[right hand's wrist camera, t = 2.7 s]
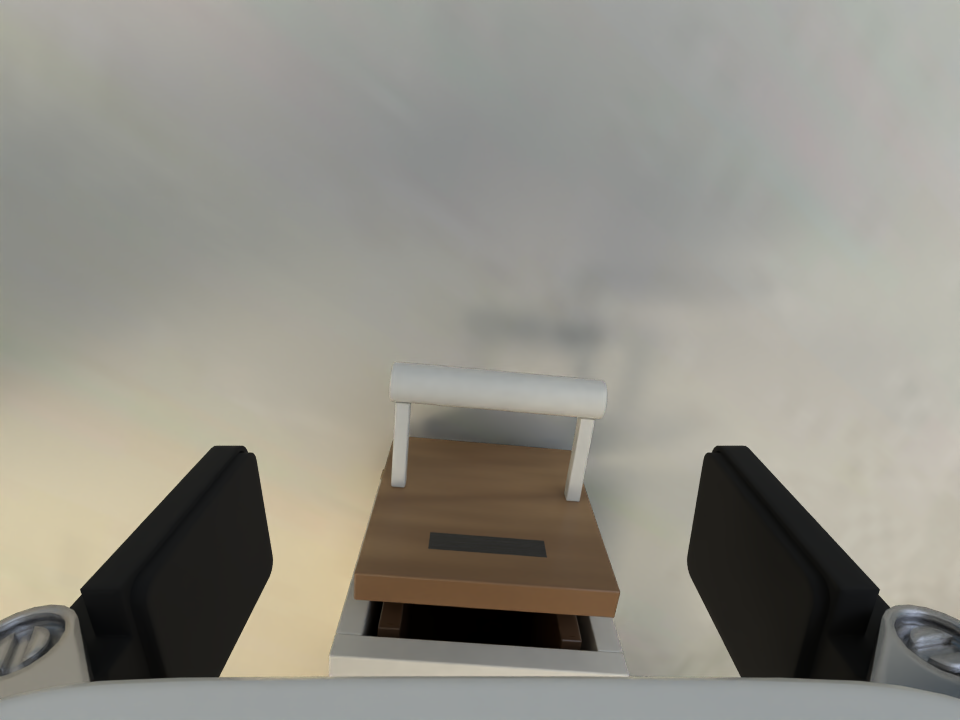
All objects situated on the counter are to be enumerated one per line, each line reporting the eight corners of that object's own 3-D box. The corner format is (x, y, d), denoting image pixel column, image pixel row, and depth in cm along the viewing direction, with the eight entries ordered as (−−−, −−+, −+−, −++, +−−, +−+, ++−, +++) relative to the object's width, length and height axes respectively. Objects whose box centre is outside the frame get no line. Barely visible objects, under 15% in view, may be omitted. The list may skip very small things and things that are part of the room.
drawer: (399, 330, 25) (357, 425, 16) (591, 347, 26) (655, 450, 17) (382, 668, 33) (346, 864, 24) (531, 678, 33) (552, 873, 24)
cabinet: (382, 469, 29) (327, 655, 18) (572, 484, 30) (630, 675, 19) (373, 699, 35) (327, 943, 24) (531, 708, 36) (556, 953, 25)
